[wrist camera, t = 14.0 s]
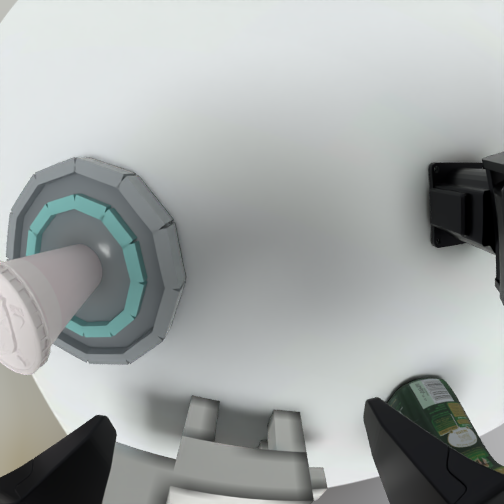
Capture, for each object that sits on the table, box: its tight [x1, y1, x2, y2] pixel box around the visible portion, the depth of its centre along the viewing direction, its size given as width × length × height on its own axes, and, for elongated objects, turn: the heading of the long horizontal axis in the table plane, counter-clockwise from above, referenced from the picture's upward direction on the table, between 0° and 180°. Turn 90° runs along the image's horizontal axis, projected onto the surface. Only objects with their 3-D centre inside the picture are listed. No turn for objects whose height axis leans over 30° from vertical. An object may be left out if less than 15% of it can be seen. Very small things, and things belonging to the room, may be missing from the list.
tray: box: [6, 157, 186, 365], centre depth 20 cm, size 16×16×2 cm
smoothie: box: [0, 244, 102, 375], centre depth 13 cm, size 6×6×14 cm
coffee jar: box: [387, 378, 504, 474], centre depth 16 cm, size 10×8×19 cm
